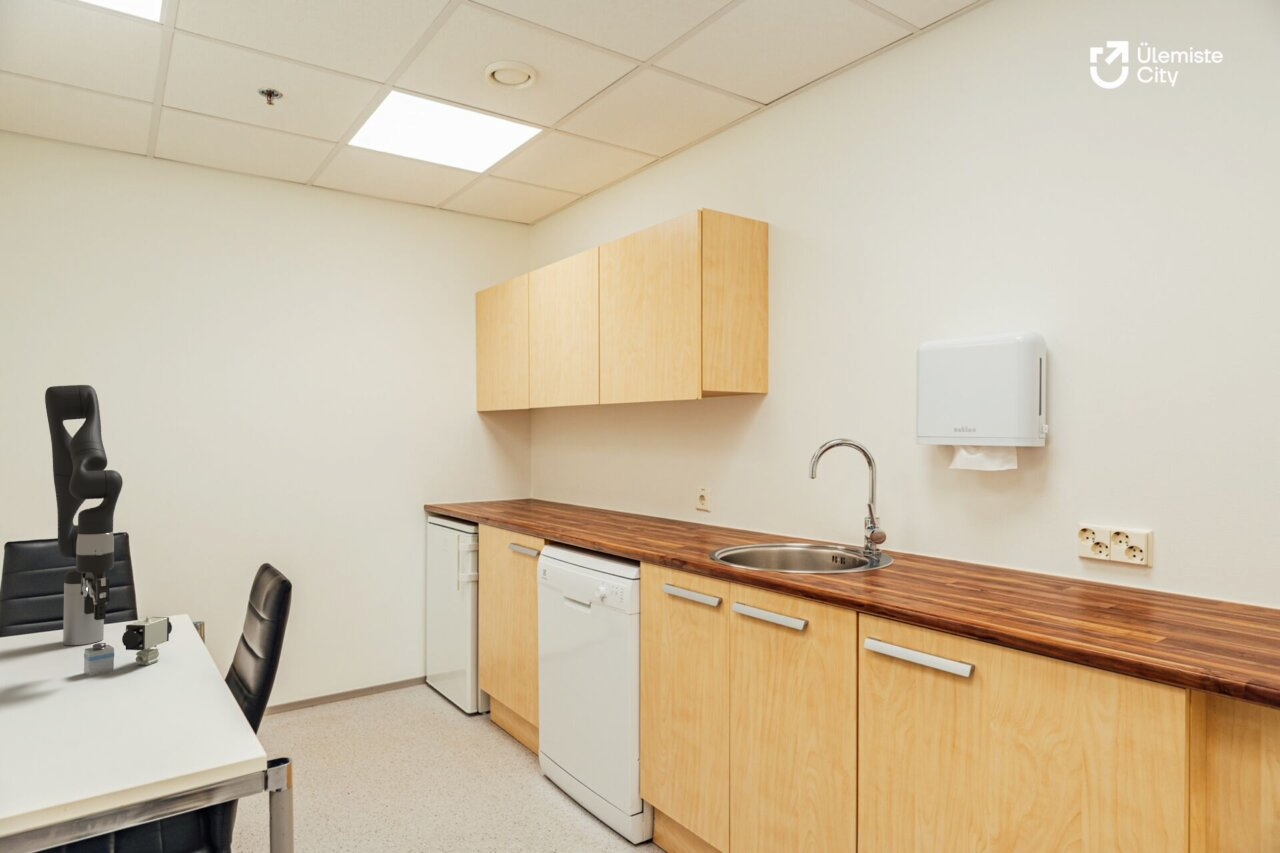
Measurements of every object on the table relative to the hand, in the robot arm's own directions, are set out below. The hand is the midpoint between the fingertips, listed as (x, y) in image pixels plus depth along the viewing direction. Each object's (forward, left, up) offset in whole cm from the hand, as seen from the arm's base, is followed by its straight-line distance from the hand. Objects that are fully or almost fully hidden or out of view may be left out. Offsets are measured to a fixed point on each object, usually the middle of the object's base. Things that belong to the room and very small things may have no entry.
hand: (94, 616), depth 181 cm
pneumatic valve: (0, +11, -14) cm, 18 cm away
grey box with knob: (0, +1, -14) cm, 14 cm away
